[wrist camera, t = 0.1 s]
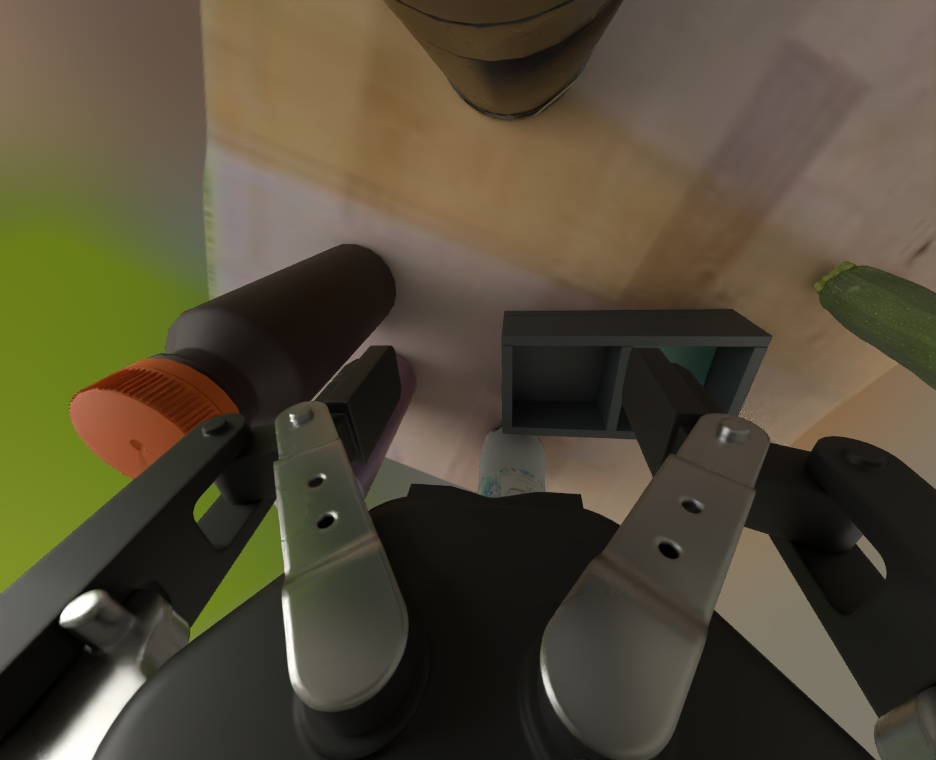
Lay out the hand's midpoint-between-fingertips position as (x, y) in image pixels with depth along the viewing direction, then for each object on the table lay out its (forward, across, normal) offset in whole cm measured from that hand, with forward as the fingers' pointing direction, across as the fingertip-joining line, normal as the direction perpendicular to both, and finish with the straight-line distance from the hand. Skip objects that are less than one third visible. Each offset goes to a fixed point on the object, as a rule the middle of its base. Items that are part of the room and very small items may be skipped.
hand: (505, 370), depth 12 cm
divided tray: (+17, -8, +9) cm, 21 cm away
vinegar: (+17, +13, +2) cm, 22 cm away
